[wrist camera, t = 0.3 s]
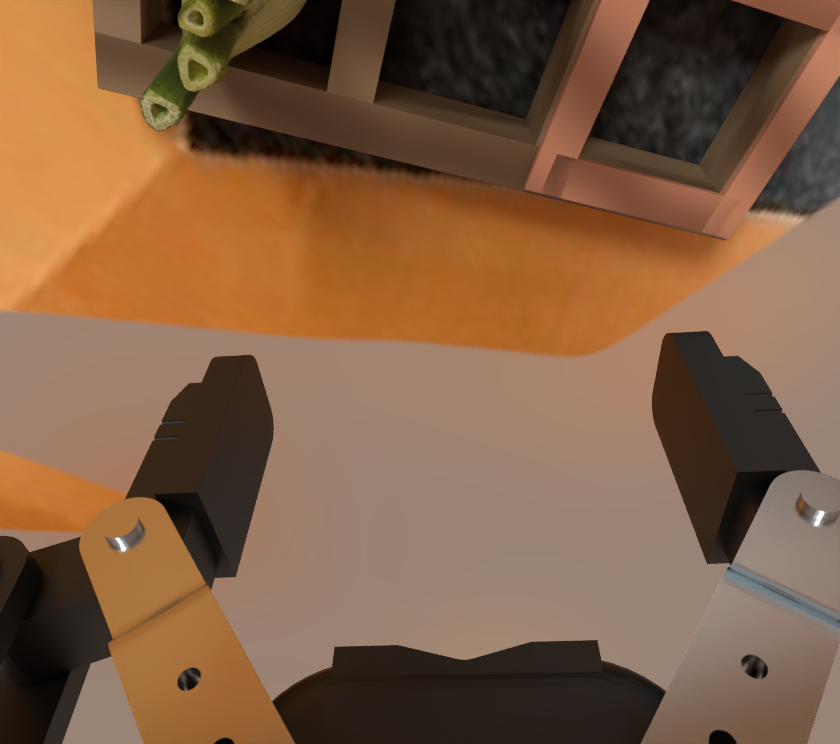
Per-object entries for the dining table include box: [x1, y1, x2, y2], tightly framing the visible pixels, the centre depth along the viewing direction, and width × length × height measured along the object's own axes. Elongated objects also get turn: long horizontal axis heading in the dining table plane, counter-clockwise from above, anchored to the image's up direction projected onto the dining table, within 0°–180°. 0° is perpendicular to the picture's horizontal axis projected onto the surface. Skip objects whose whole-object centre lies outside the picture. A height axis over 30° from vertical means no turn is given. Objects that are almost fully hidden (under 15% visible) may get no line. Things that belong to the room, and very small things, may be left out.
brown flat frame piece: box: [93, 0, 840, 240], centre depth 27 cm, size 12×30×3 cm, turn 75°
